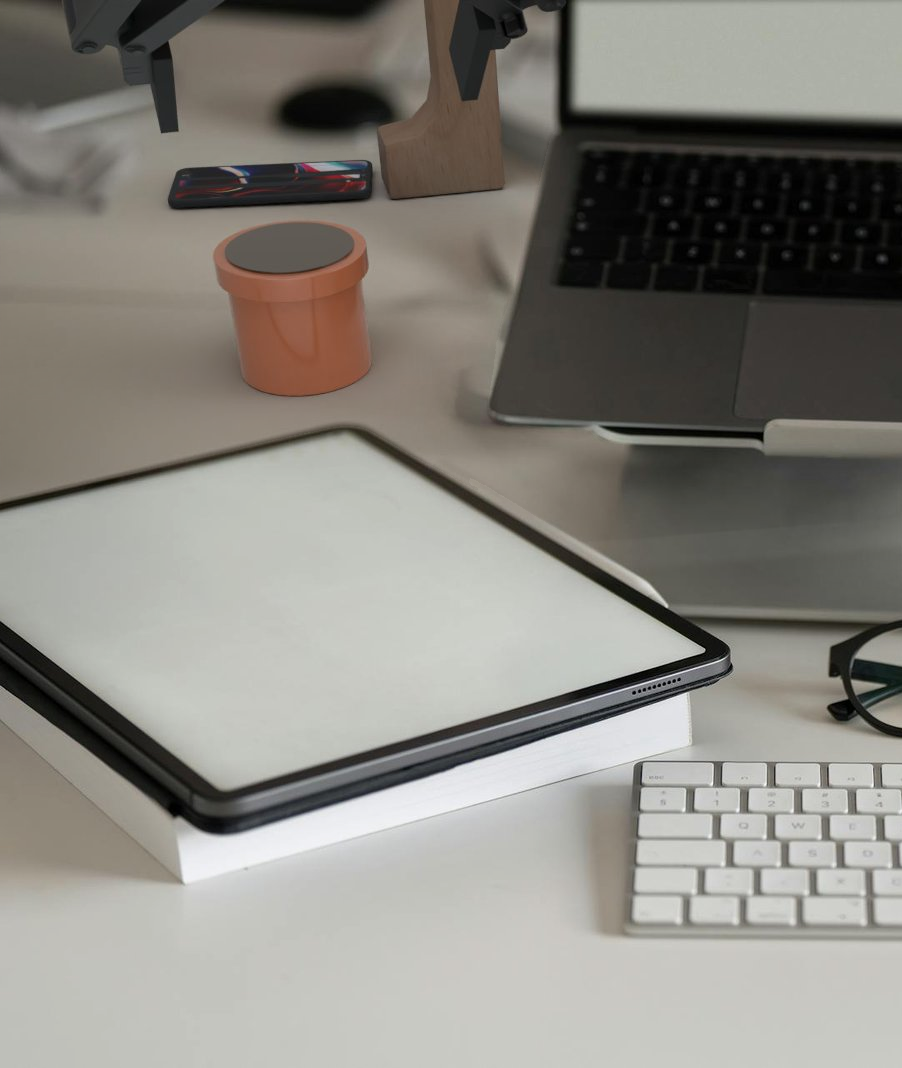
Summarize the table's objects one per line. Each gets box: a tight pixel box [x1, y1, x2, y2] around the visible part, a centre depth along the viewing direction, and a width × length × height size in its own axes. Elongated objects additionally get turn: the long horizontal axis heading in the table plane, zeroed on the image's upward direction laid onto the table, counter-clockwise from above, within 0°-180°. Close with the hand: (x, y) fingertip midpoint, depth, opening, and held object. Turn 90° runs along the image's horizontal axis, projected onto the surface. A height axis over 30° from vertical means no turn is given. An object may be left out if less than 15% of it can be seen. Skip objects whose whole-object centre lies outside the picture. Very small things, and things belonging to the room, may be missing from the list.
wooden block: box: [376, 0, 506, 200], centre depth 129 cm, size 9×4×18 cm, turn 109°
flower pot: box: [212, 219, 373, 397], centre depth 105 cm, size 9×9×8 cm
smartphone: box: [167, 159, 374, 209], centre depth 132 cm, size 7×1×15 cm
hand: (317, 89), depth 77 cm, fingers open, 13 cm apart
